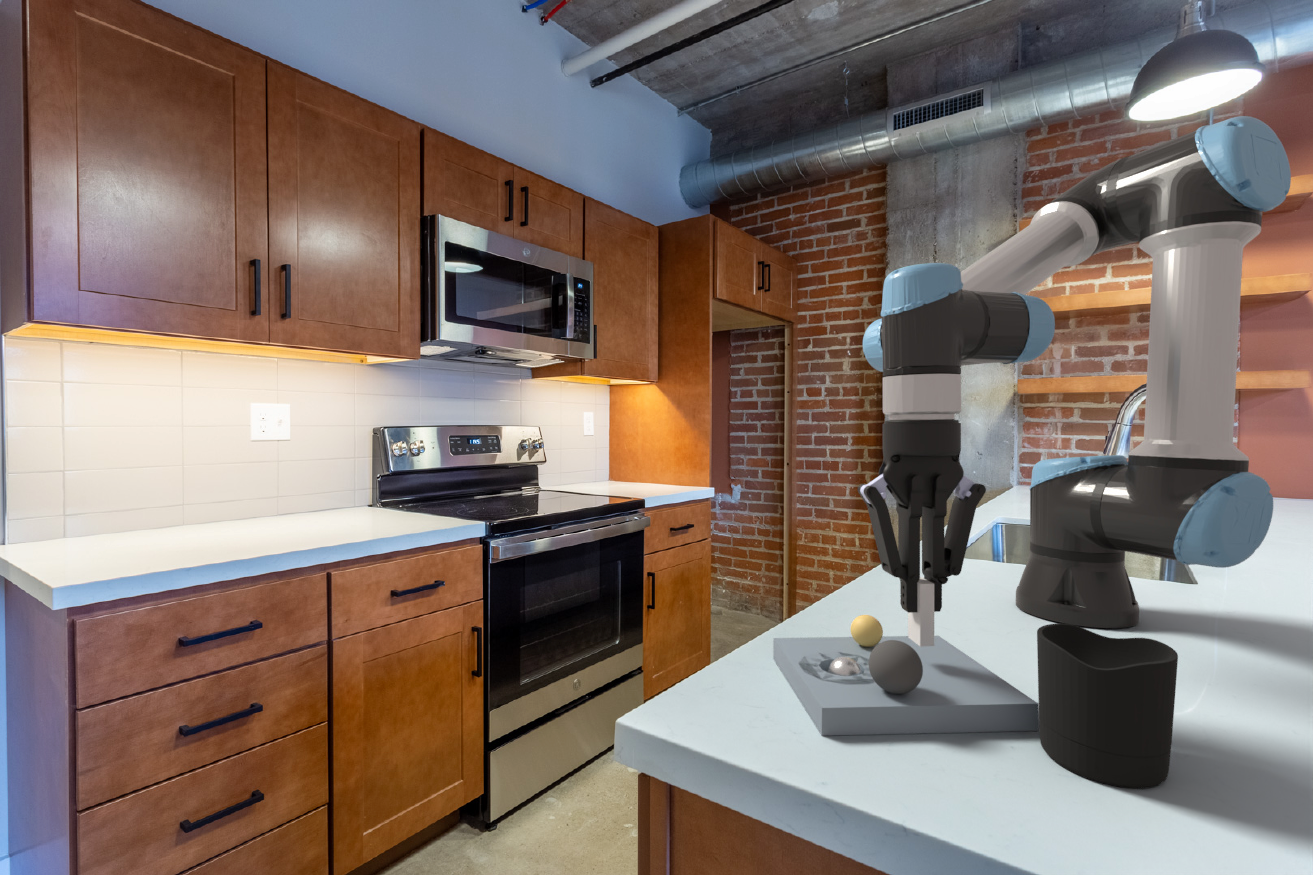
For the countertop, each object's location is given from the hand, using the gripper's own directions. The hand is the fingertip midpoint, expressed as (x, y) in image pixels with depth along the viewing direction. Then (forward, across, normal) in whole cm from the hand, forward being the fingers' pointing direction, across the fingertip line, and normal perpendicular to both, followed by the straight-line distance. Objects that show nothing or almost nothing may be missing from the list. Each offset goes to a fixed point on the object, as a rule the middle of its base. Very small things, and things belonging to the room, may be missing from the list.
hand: (921, 641), depth 66 cm
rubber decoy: (0, +6, +6) cm, 9 cm away
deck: (+5, +4, 0) cm, 6 cm away
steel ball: (+3, +8, 0) cm, 9 cm away
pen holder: (+5, -8, +14) cm, 17 cm away
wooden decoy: (+1, +4, -6) cm, 7 cm away
